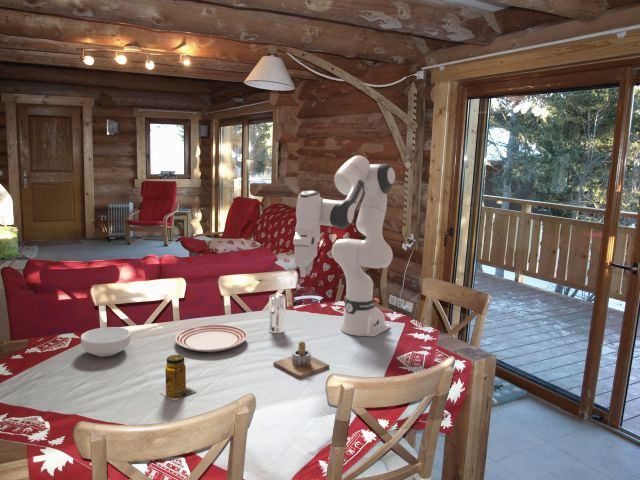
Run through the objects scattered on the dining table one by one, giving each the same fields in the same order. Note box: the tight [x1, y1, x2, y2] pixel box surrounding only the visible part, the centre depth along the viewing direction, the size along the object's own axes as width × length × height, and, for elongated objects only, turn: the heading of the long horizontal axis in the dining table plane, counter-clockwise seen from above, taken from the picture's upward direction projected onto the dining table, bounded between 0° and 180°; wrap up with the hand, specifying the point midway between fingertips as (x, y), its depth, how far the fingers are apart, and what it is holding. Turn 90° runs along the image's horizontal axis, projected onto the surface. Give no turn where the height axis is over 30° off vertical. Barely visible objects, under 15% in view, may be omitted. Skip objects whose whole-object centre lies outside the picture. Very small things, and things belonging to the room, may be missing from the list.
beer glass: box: [268, 293, 286, 334], centre depth 224 cm, size 7×7×15 cm
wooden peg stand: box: [272, 341, 330, 380], centre depth 190 cm, size 14×14×9 cm
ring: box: [291, 349, 312, 367], centre depth 191 cm, size 6×6×4 cm
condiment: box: [160, 354, 197, 402], centre depth 168 cm, size 7×8×12 cm
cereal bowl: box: [80, 326, 131, 358], centre depth 196 cm, size 17×17×7 cm
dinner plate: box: [174, 324, 248, 353], centre depth 209 cm, size 28×27×3 cm
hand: (306, 273), depth 196 cm, fingers open, 8 cm apart
